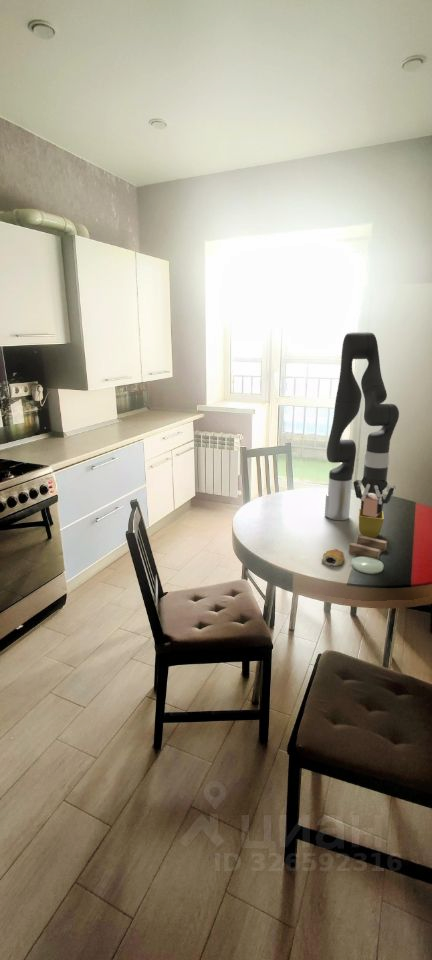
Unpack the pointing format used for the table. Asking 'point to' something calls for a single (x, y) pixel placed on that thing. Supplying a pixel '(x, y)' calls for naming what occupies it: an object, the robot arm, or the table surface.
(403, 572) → the table surface
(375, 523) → the flower pot
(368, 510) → the part
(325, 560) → the pastry
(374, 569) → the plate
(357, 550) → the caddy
